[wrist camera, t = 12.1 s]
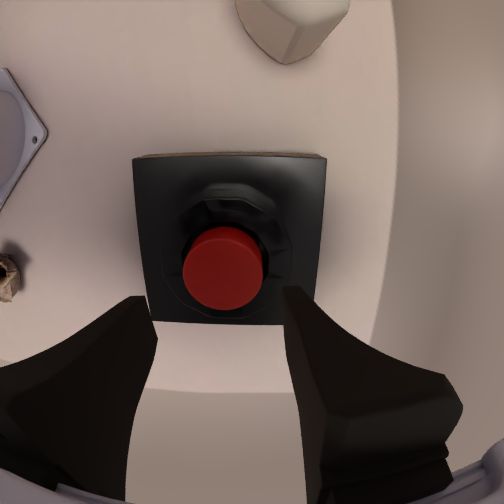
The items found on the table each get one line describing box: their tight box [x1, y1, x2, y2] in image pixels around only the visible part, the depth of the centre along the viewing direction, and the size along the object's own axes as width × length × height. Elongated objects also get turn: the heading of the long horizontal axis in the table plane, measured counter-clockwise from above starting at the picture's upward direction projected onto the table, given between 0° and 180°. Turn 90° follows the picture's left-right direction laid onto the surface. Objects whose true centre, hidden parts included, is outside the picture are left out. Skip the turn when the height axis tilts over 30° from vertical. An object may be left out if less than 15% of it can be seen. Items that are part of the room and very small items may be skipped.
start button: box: [183, 226, 263, 310], centre depth 14 cm, size 4×4×2 cm
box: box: [132, 152, 327, 325], centre depth 17 cm, size 10×10×4 cm
